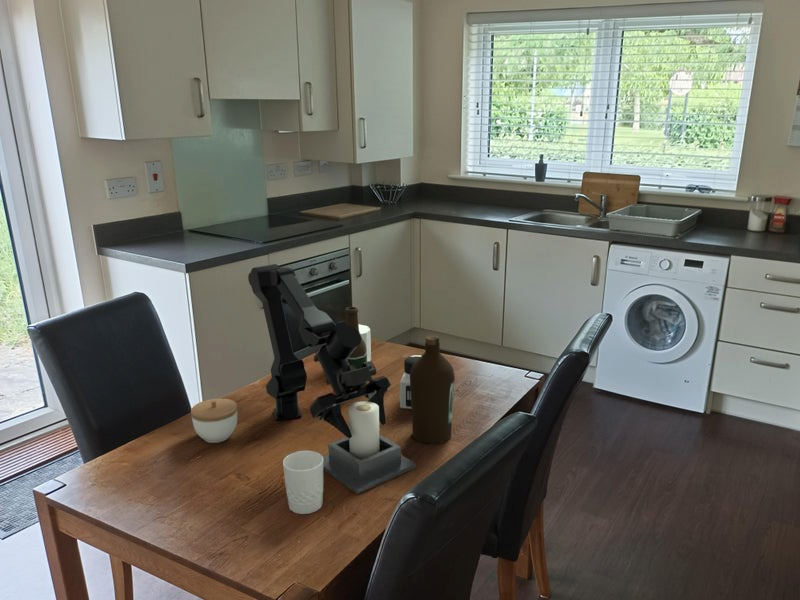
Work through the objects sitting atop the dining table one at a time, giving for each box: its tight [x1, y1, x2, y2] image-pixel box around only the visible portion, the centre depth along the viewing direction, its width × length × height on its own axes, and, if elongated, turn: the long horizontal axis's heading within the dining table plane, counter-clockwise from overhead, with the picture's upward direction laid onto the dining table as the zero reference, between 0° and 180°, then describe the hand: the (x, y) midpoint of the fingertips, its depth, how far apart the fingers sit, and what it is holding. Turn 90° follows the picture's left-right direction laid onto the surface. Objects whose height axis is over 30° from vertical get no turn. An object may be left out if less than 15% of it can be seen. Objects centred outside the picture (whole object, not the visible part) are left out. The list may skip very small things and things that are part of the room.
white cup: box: [282, 450, 324, 515], centre depth 131 cm, size 8×8×10 cm
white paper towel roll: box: [347, 400, 380, 460], centre depth 145 cm, size 7×7×13 cm
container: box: [399, 354, 422, 410], centre depth 176 cm, size 8×8×13 cm
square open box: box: [322, 433, 417, 495], centre depth 146 cm, size 16×16×5 cm
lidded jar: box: [190, 398, 238, 444], centre depth 159 cm, size 11×11×9 cm
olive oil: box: [410, 335, 456, 445], centre depth 157 cm, size 11×11×25 cm
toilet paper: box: [358, 323, 372, 362], centre depth 202 cm, size 10×10×12 cm
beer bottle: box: [344, 306, 368, 395], centre depth 183 cm, size 8×8×24 cm
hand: (367, 430), depth 143 cm, fingers open, 9 cm apart
